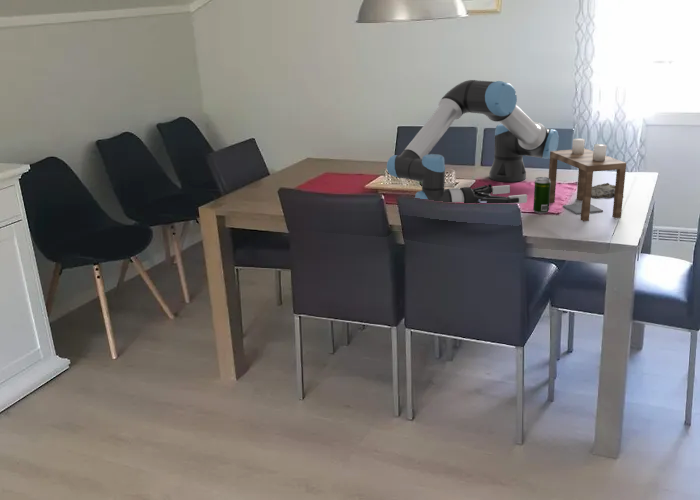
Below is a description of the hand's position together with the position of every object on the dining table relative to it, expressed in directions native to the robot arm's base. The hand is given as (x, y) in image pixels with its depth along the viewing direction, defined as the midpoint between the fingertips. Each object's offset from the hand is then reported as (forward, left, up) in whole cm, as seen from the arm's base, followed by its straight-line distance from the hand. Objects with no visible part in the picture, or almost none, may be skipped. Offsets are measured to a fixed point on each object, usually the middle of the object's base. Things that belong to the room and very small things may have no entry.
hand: (517, 193), depth 249 cm
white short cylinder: (-4, +24, +12) cm, 27 cm away
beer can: (0, +9, -8) cm, 12 cm away
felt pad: (+2, +24, -7) cm, 25 cm away
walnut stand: (+2, +24, -7) cm, 25 cm away
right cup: (+8, +25, +12) cm, 29 cm away
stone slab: (-16, +43, -8) cm, 47 cm away
